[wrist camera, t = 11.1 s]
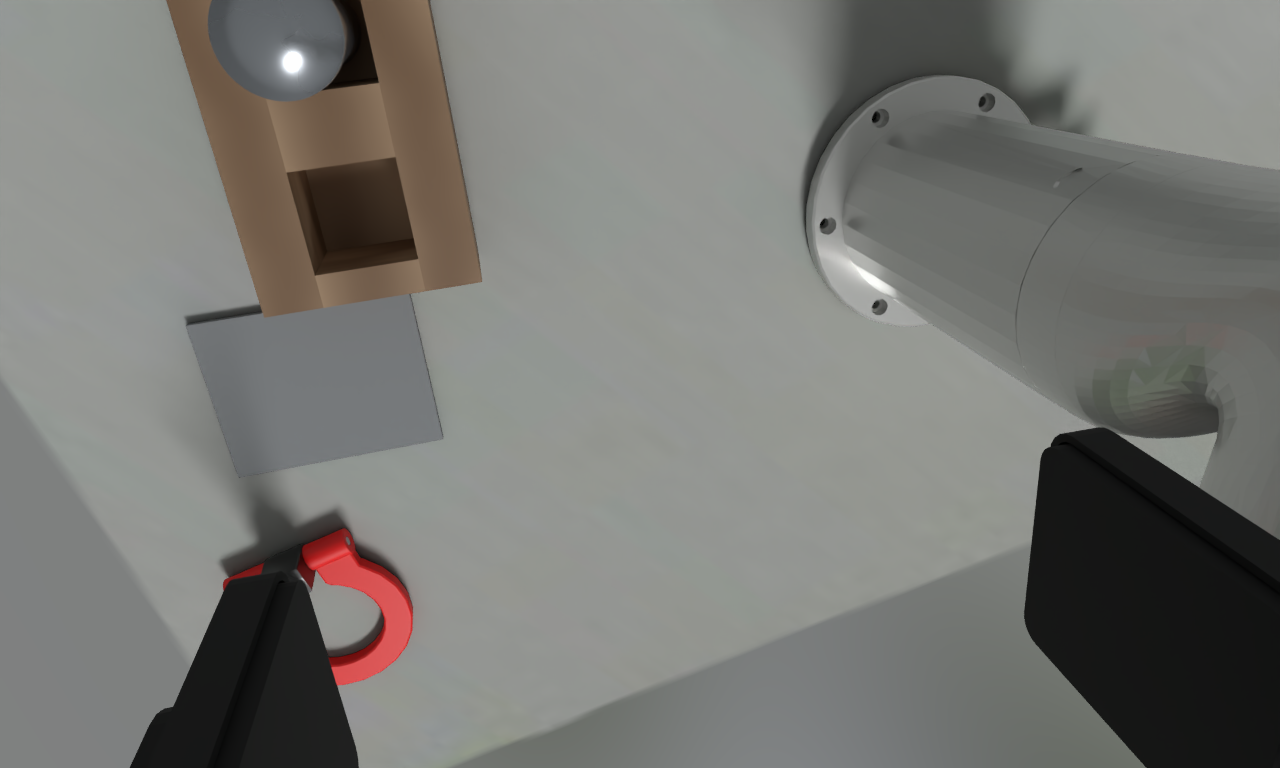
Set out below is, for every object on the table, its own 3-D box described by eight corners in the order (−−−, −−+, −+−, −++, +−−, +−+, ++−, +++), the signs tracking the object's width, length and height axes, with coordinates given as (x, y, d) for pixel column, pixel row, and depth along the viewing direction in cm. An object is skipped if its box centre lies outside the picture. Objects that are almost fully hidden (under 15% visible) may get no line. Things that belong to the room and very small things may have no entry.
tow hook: (439, 633, 49) (359, 513, 45) (440, 833, 38) (334, 698, 34) (302, 693, 49) (208, 578, 45) (263, 912, 38) (132, 787, 33)
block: (414, -77, 35) (410, -89, 31) (478, 255, 41) (482, 281, 37) (182, -53, 34) (147, -62, 30) (282, 286, 40) (264, 317, 36)
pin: (358, -27, 35) (325, -43, 25) (380, 72, 37) (357, 93, 27) (261, -16, 35) (189, -28, 25) (287, 84, 36) (230, 109, 26)
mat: (408, 287, 41) (408, 289, 41) (443, 436, 44) (443, 439, 44) (187, 323, 40) (185, 325, 39) (239, 474, 43) (238, 477, 43)
